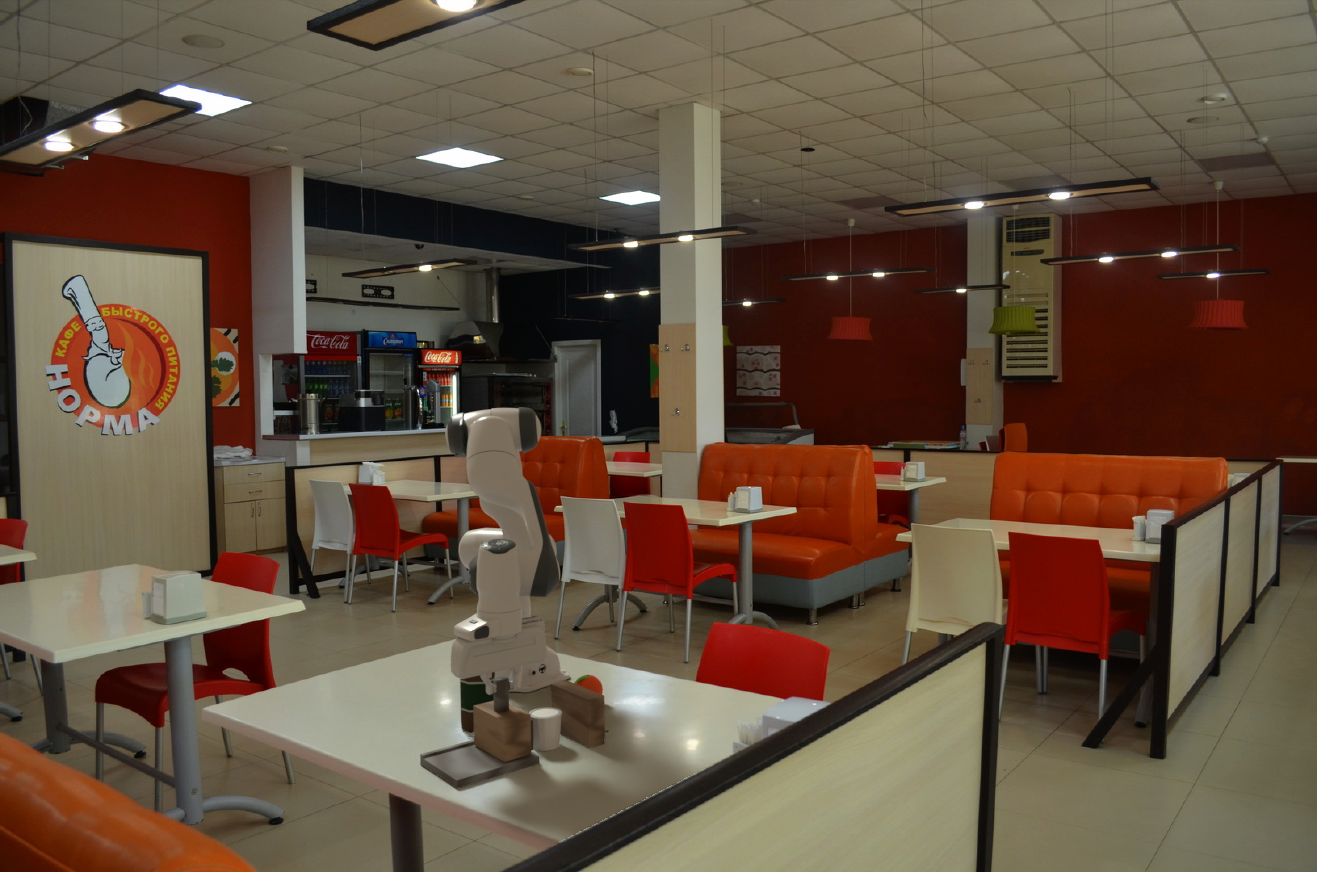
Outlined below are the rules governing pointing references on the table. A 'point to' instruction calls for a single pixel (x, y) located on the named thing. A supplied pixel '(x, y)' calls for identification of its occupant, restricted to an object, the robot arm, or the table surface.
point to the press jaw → (502, 726)
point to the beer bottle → (472, 699)
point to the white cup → (546, 728)
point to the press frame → (577, 723)
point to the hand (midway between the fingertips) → (501, 691)
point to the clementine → (590, 683)
